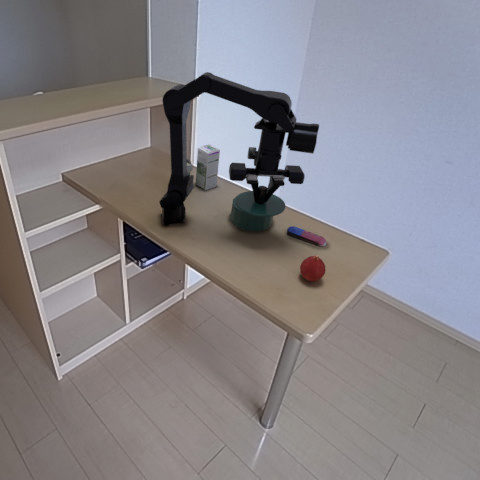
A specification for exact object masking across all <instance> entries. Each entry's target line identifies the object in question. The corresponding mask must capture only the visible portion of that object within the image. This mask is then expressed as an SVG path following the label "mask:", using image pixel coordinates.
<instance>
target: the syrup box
mask: <svg viewBox="0 0 480 480" xmlns="http://www.w3.org/2000/svg"><path fill="white" fill-rule="evenodd" d="M220 155H221V149H220V148H218V147H215V146H213V145H211V144H205V145H203V146H199V147H197V156H196V173H195V185H196V186H197V187H199V188H201V189H203V190H204V191H208V190H211V189H214V188H216V187H217V186H218V175H219V165H220Z"/></svg>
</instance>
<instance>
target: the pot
mask: <svg viewBox="0 0 480 480" xmlns="http://www.w3.org/2000/svg"><path fill="white" fill-rule="evenodd" d="M237 196H238V195H236V196H235V197H234V198H233V199H232V203H231V211H230V219H229V220H230V222H231V223H232V224H233V225H234V226H236V227H237V228H239V229H241V230H243V231H250V232H262V231H265V230H267V229H269V228H270V227H271V226H272V224H273V220H274V216H269V217H263V216H255V215H251V214H248V213H246V212H244V211H242V210H240V209H239V208H238V207H237V206H236V204H235V199H236V197H237Z"/></svg>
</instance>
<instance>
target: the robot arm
mask: <svg viewBox="0 0 480 480" xmlns="http://www.w3.org/2000/svg"><path fill="white" fill-rule="evenodd" d="M204 93H206V94H209V95H211V96H214V97H217V98H220V99H222V100H225V101H228V102H231V103H234V104H236V105H239V106H243V107H245V108H247V109H250V111H251V110H252V111H253V112H254V113H255V114H256V115H258V116H259V117H260V119H259V120H258V121H256V122H255V124H254V126H253V128H254V130H260V131H261V132H260V139H259V143H258V149H257V147H254V146H253V147H252V146H248V150H247V159H248V160H253V166H254V167H247V166H246V163H245V162H231V163H230V164H229V166H228V167H229V168H228V175H229V180H230V181H232V182H233V181H234V182H243V181H244V180H246V184H247V185H250V187H251V189H252V191H253V195H254V201H255V202H256V201H257V195H258V187H259V186H260V185H259V184H260V183H259V180H258V178H259V177H269V180H268V184H267V193H266V198H265V202H267V201H268V200H269V198H270V197H271V196H272V194H274V193H276V191H277V190H278V189H279V188H280V187H284V186H285V185H286V184H285V179H286V178H288V179H287V180H288V182H289V183H290V185H291V184H293V185H294V184H295V185H303V184H304V181H305V176H306V175H305V172H304V171H303V169H302V167H301V166H300V165H292V164H291V165H289V164H286V165H285V166H284V169H282V168H279V166H280V161H281V159H282V153H283V147H284V143H285V146H286V147H287V149H288V150H289V151H290V152H297V153H298V152H299V153H304V154H305V153H306V154H314V153H315V149H316V146H317V143H318V142H317V140H318V133H319V129H320V124H319V123H307V122H306V123H305V122H297V117H296V116H295V113H294V111H293V109H292V105H293V104H292V99H291V97H290V95H289V94H287V93H285V92H283V91H282V92H280V91H275V90H260V89H255V88H252V87H249V86H247V85H243V84H242V83H237V82H235V81H232V80H229V79H226V78H224V77H220V76H219V75H215V74H213V73H212V72H209V71H207V72H204V73H202V74H201V75H200V76H198V77H196V78H195V79H193V80H191V81H189V82H188V83H186V84H182V83H179V84H176V85H174V86H172V87H171V88H169V89H168V90H167V91H165V93H164V94H163V96H162V106H163V112H164V115H165V118H166V120H167V122H168V125H169V145H170V147H169V148H170V169H171V170H170V171H171V173H170V177H169V180H168V184H167V191H166V192H165V193H164V194H163V196H162V198H161V199H160V200H159V205H160V208H161V214H160V219H161V221H162V224H163V226H165V227H166V226H167V227H169V226H170V225H176V224H177V225H179V224H185V219H186V206H185V201H186V200H187V199H188V197H189V195H190V194H191V192H192V191H193V190H194V188H195V184H194V178H195V175H194V174H190V175H189V174H188V172H187V159H188V157H187V156H188V155H187V154H188V153H187V151H188V150H187V146H188V145H187V120H188V118H189V117H188V116H189V113H190V110H191V103H192V100H194V99H195V98H197V97H199V96H200V95H203V94H204ZM286 134H287V138H286V142H285V136H286Z"/></svg>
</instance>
